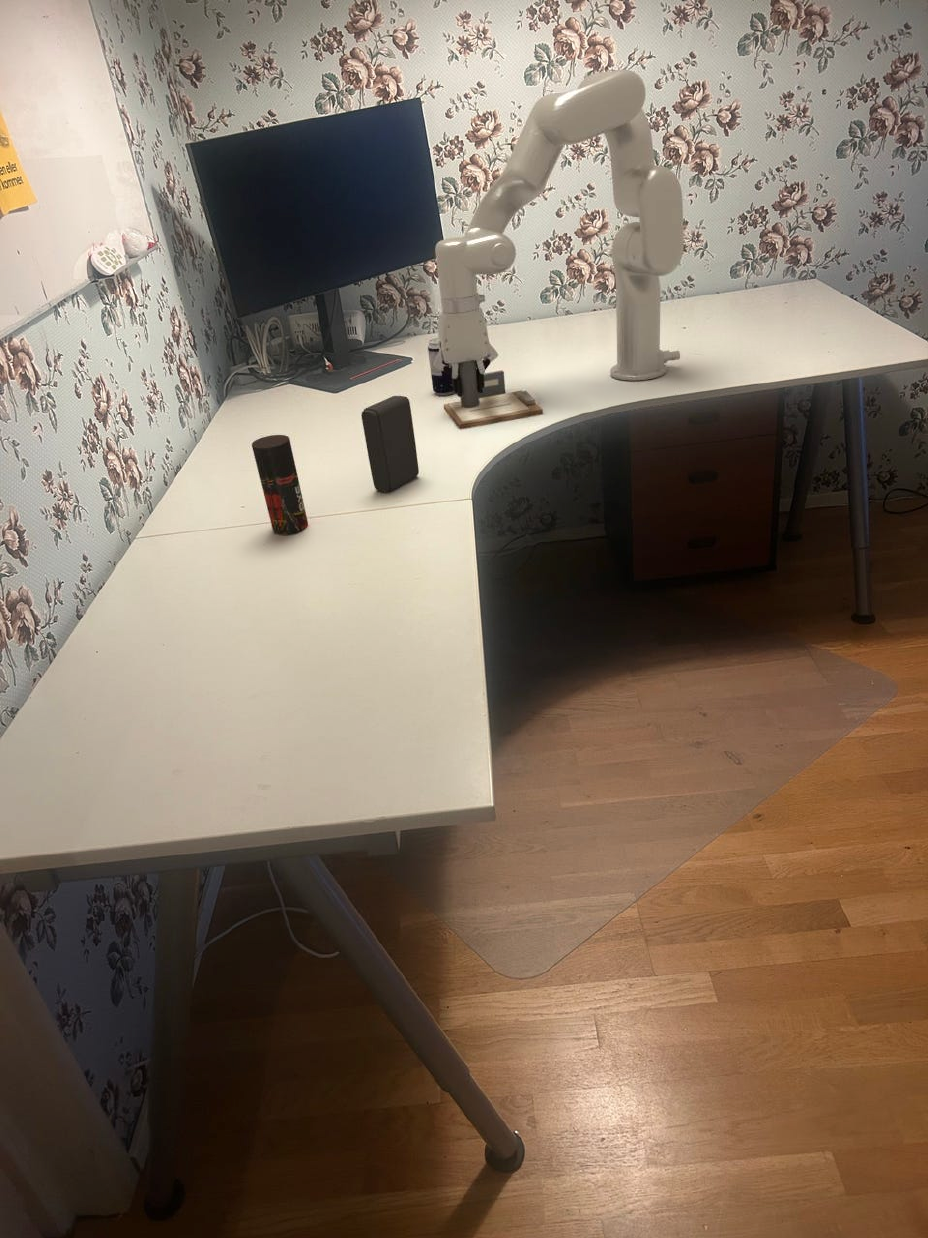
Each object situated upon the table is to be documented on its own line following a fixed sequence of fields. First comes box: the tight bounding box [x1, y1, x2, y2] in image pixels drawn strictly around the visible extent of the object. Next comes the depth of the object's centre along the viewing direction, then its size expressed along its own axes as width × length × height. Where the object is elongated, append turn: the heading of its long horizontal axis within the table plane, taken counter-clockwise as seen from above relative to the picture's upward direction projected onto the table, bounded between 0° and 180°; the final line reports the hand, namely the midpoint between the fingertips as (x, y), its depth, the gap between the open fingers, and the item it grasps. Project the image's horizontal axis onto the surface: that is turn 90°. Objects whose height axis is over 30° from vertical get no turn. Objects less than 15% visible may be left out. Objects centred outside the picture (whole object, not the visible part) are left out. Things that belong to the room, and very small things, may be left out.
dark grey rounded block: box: [361, 395, 420, 493], centre depth 149 cm, size 9×4×15 cm, turn 141°
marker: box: [458, 358, 480, 407], centre depth 180 cm, size 4×4×12 cm
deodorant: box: [251, 434, 309, 536], centre depth 138 cm, size 6×6×15 cm
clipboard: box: [442, 390, 544, 430], centre depth 182 cm, size 18×15×2 cm
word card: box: [479, 370, 506, 398], centre depth 190 cm, size 10×1×5 cm, turn 103°
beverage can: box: [427, 337, 455, 397], centre depth 194 cm, size 6×6×12 cm
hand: (469, 392), depth 182 cm, fingers closed on marker, 4 cm apart
